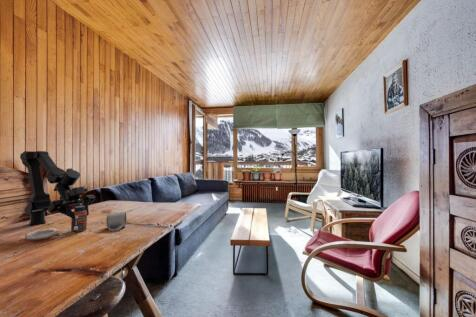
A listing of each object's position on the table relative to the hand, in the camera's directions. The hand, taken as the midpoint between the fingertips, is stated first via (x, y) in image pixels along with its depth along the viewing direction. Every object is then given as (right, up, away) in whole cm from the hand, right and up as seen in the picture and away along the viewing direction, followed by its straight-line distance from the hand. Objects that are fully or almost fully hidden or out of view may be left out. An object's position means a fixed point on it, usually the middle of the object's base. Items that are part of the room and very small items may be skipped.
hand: (81, 216), depth 101 cm
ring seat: (-13, -7, -6) cm, 16 cm away
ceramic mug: (+14, -7, +5) cm, 17 cm away
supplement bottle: (-1, -7, 0) cm, 7 cm away
